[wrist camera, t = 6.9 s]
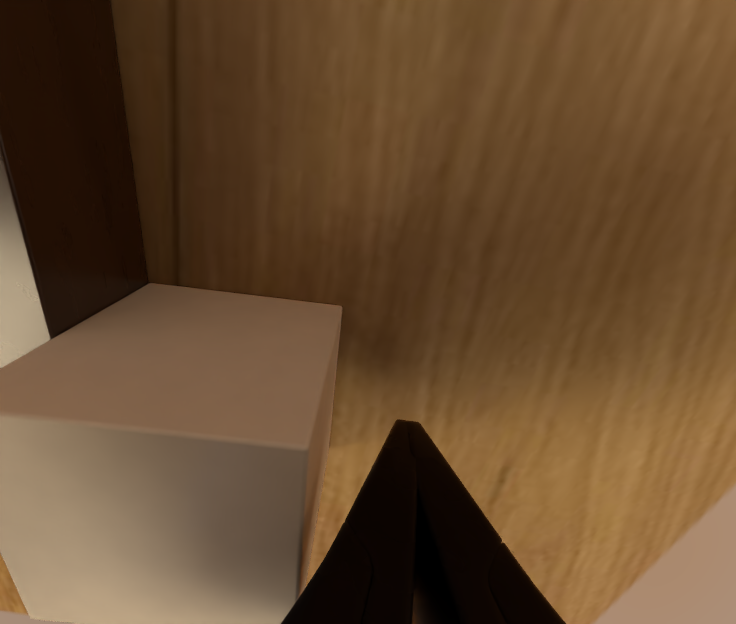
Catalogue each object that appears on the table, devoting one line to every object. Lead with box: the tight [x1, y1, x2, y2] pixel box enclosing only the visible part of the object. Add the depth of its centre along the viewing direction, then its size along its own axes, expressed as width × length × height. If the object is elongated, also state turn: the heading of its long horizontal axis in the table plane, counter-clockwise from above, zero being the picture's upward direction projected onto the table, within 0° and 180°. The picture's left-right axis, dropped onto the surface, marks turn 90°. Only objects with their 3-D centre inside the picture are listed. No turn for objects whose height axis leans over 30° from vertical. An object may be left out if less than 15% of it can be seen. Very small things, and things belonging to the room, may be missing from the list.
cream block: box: [0, 283, 342, 624], centre depth 8 cm, size 5×5×5 cm
